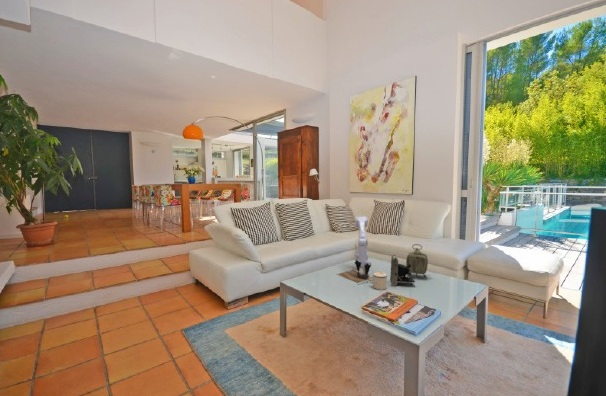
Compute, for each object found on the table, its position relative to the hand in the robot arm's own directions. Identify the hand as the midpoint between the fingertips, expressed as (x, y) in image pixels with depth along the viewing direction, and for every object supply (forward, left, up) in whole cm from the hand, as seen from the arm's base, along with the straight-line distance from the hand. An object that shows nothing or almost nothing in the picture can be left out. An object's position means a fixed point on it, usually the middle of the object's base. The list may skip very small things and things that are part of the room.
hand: (362, 272), depth 205 cm
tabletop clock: (-35, +22, -5) cm, 42 cm away
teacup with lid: (+4, +17, -5) cm, 18 cm away
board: (+3, -5, -5) cm, 8 cm away
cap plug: (0, 0, -3) cm, 3 cm away
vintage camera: (-14, +24, -5) cm, 28 cm away
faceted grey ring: (0, 0, -3) cm, 3 cm away
